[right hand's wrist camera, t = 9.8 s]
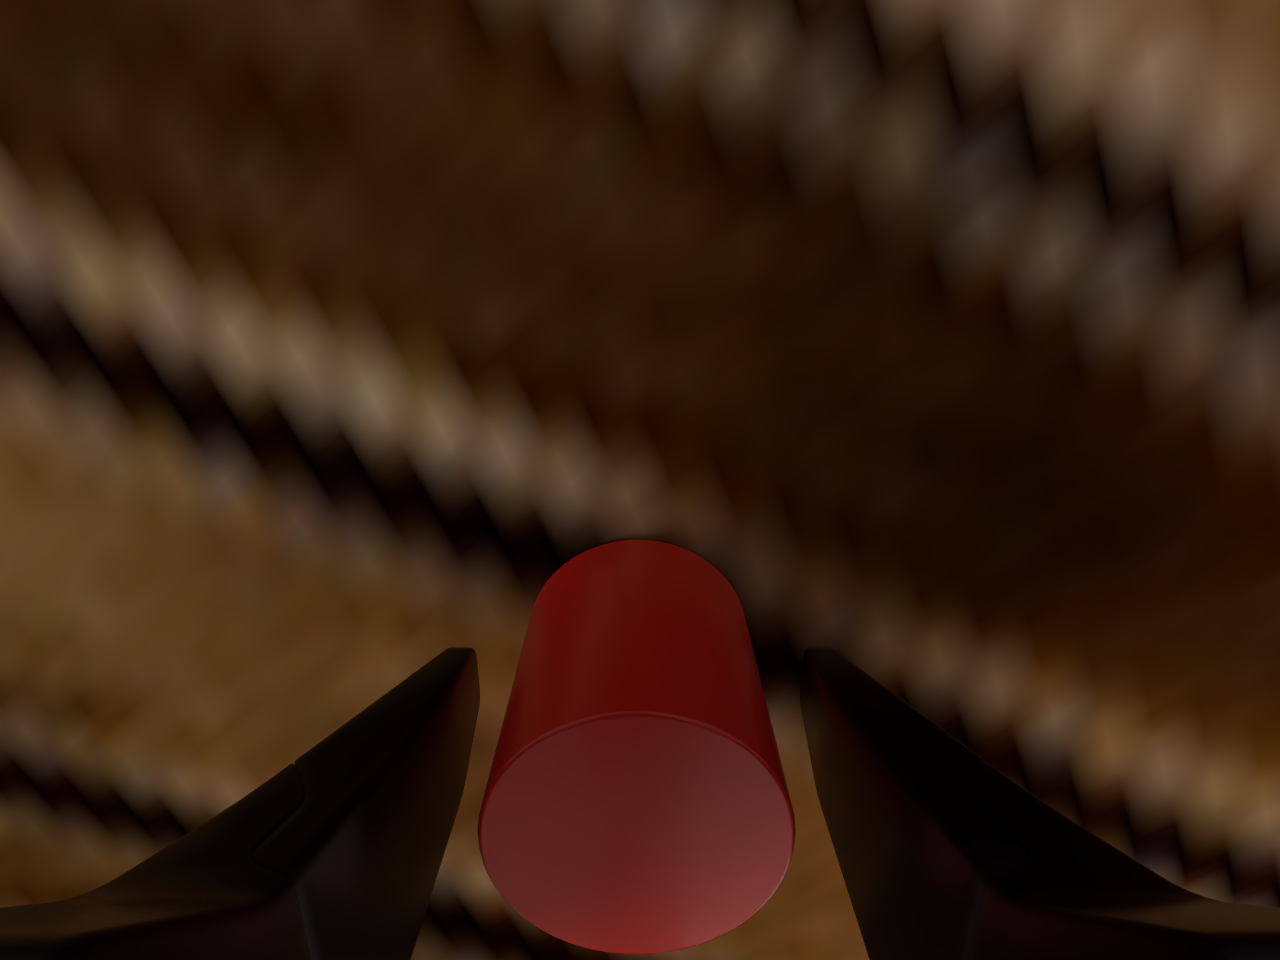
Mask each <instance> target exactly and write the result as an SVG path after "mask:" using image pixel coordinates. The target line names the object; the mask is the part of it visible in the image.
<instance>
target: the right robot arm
mask: <svg viewBox="0 0 1280 960" xmlns="http://www.w3.org/2000/svg"><path fill="white" fill-rule="evenodd" d="M479 703H480V688H479V677H478V666H477V656H476V652H475V650H474V649H473V648H448V649H446V650H445V651H443V652H442V653H441V654H439V655H438V656H436V657H435V658H434V659H432V660H431V661H430V662H428V663H427V664H426V665H424V666H423V667H422V668H420V669H419V670H417V671H416V672H415V673H413V674H412V675H411V676H409V677H408V678H407V679H405V680H404V681H403V682H401V683H400V684H399V685H397V686H396V687H394V688H393V689H392V690H390V691H389V692H388V693H386V694H385V695H384V696H382V697H381V698H380V699H378V700H377V701H375V702H374V703H373V704H371V705H370V706H369V707H367V708H366V709H365V710H363V711H362V712H361V713H359V714H358V715H357V716H355V717H354V718H352V719H351V720H350V721H348V722H347V723H346V724H344V725H343V726H342V727H340V728H339V729H338V730H336V731H335V732H333V733H332V734H331V735H329V736H328V737H327V738H325V739H324V740H323V741H321V742H320V743H319V744H317V745H316V746H315V747H313V748H312V749H310V750H309V751H308V752H306V753H305V754H304V755H302V756H301V757H300V758H298V759H297V760H296V761H295V762H294V764H290V765H289V766H287V767H286V768H284V769H283V770H282V771H280V772H279V773H278V774H276V775H275V776H274V777H272V778H271V779H269V780H268V781H267V782H265V783H264V784H262V785H261V786H260V787H258V788H257V789H255V790H254V791H252V792H251V793H250V794H248V795H247V796H245V797H244V798H243V799H241V800H240V801H238V802H236V803H235V804H233V805H232V806H230V807H229V808H227V809H226V810H224V811H223V812H221V813H220V814H218V815H216V816H215V817H213V818H212V819H210V820H209V821H207V822H206V823H204V824H202V825H201V826H199V827H198V828H196V829H194V830H193V831H191V832H190V833H188V834H186V835H185V836H183V837H182V838H180V839H178V840H177V841H175V842H174V843H172V844H170V845H169V846H167V847H166V848H164V849H162V850H161V851H159V852H158V853H156V854H154V855H153V856H151V857H150V858H148V859H147V860H145V861H143V862H142V863H140V864H139V865H137V866H135V867H134V868H132V869H131V870H129V871H127V872H126V873H124V874H123V875H121V876H119V877H117V878H116V879H114V880H112V881H111V882H109V883H107V884H105V885H103V886H101V887H99V888H97V889H95V890H92V891H90V892H88V893H85V894H82V895H79V896H77V897H74V898H70V899H66V900H62V901H58V902H51V903H43V904H33V905H23V906H14V907H4V908H0V960H410V959H411V956H412V953H413V950H414V947H415V944H416V940H417V937H418V934H419V931H420V928H421V925H422V922H423V918H424V915H425V912H426V909H427V906H428V903H429V899H430V896H431V893H432V890H433V887H434V884H435V881H436V877H437V874H438V871H439V868H440V865H441V862H442V858H443V855H444V852H445V849H446V846H447V843H448V840H449V836H450V833H451V830H452V827H453V824H454V821H455V817H456V814H457V811H458V808H459V804H460V801H461V797H462V794H463V789H464V785H465V780H466V775H467V769H468V764H469V759H470V753H471V748H472V742H473V737H474V732H475V726H476V721H477V716H478V710H479ZM800 703H801V710H802V715H803V721H804V726H805V732H806V737H807V742H808V748H809V753H810V758H811V764H812V769H813V775H814V780H815V784H816V789H817V794H818V797H819V801H820V804H821V808H822V811H823V814H824V817H825V820H826V824H827V827H828V830H829V833H830V836H831V839H832V843H833V846H834V849H835V852H836V855H837V858H838V861H839V865H840V868H841V871H842V874H843V877H844V880H845V884H846V887H847V890H848V893H849V896H850V899H851V902H852V906H853V909H854V912H855V915H856V918H857V921H858V925H859V928H860V931H861V934H862V937H863V940H864V943H865V947H866V950H867V953H868V956H869V959H870V960H1280V908H1276V907H1266V906H1257V905H1247V904H1237V903H1229V902H1222V901H1218V900H1214V899H1210V898H1206V897H1204V896H1201V895H1198V894H1195V893H1192V892H1190V891H1188V890H1185V889H1183V888H1181V887H1179V886H1177V885H1175V884H1173V883H1171V882H1169V881H1168V880H1166V879H1164V878H1163V877H1161V876H1159V875H1158V874H1156V873H1154V872H1153V871H1151V870H1150V869H1148V868H1146V867H1145V866H1143V865H1142V864H1140V863H1138V862H1137V861H1135V860H1134V859H1132V858H1130V857H1129V856H1127V855H1126V854H1124V853H1122V852H1121V851H1119V850H1118V849H1116V848H1114V847H1113V846H1111V845H1110V844H1108V843H1106V842H1105V841H1103V840H1102V839H1100V838H1098V837H1097V836H1095V835H1094V834H1092V833H1090V832H1089V831H1087V830H1086V829H1084V828H1082V827H1081V826H1079V825H1078V824H1076V823H1074V822H1073V821H1071V820H1070V819H1068V818H1067V817H1065V816H1064V815H1062V814H1061V813H1059V812H1057V811H1056V810H1054V809H1053V808H1051V807H1050V806H1048V805H1047V804H1045V803H1044V802H1042V801H1040V800H1039V799H1038V798H1036V797H1035V796H1033V795H1032V794H1030V793H1029V792H1028V791H1026V790H1025V789H1023V788H1022V787H1021V786H1019V785H1018V784H1016V783H1015V782H1013V781H1012V780H1011V779H1009V778H1008V777H1006V776H1005V775H1004V774H1002V773H1001V772H1000V771H998V770H997V769H996V768H994V767H993V766H992V765H990V764H986V762H985V761H984V760H983V759H982V758H980V757H979V756H978V755H976V754H975V753H974V752H972V751H971V750H970V749H968V748H967V747H966V746H964V745H963V744H961V743H960V742H959V741H957V740H956V739H955V738H953V737H952V736H951V735H949V734H948V733H947V732H945V731H944V730H942V729H941V728H940V727H938V726H937V725H936V724H934V723H933V722H932V721H930V720H929V719H928V718H926V717H925V716H924V715H922V714H921V713H919V712H918V711H917V710H915V709H914V708H913V707H911V706H910V705H909V704H907V703H906V702H905V701H903V700H902V699H900V698H899V697H898V696H896V695H895V694H894V693H892V692H891V691H890V690H888V689H887V688H886V687H884V686H883V685H882V684H880V683H879V682H877V681H876V680H875V679H873V678H872V677H871V676H869V675H868V674H867V673H865V672H864V671H863V670H861V669H860V668H858V667H857V666H856V665H854V664H853V663H852V662H850V661H849V660H848V659H846V658H845V657H844V656H842V655H841V654H840V653H838V652H837V651H835V650H834V649H832V648H807V649H806V650H805V652H804V656H803V666H802V677H801V688H800Z"/></svg>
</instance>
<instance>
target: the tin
mask: <svg viewBox="0 0 1280 960" xmlns="http://www.w3.org/2000/svg"><path fill="white" fill-rule="evenodd" d="M478 838H479V848H480V852H481V855H482V859H483V863H484V866H485V868H486V870H487V873H488V875H489V877H490V879H491V881H492V883H493V884H494V886H495V887H496V889H497V890H498V892H499V893H500V895H501V896H502V897H503V898H504V899H505V900H506V902H507V903H508V904H509V905H510V906H511V907H512V908H513V909H514V910H515V911H516V912H518V913H519V914H520V915H521V916H522V917H523V918H525V919H526V920H527V921H529V922H530V923H532V924H533V925H535V926H536V927H538V928H539V929H541V930H543V931H545V932H547V933H549V934H551V935H552V936H554V937H557V938H559V939H562V940H564V941H567V942H569V943H572V944H575V945H578V946H582V947H585V948H589V949H593V950H599V951H604V952H610V953H621V954H653V953H664V952H670V951H675V950H680V949H685V948H689V947H692V946H695V945H699V944H702V943H705V942H707V941H710V940H712V939H715V938H717V937H719V936H721V935H723V934H725V933H727V932H729V931H731V930H733V929H734V928H736V927H738V926H739V925H740V924H742V923H743V922H745V921H746V920H748V919H749V918H750V917H752V916H753V915H754V914H755V913H756V912H757V911H758V910H759V909H761V908H762V907H763V906H764V905H765V903H766V902H767V901H768V900H769V899H770V898H771V897H772V895H773V894H774V893H775V891H776V890H777V888H778V887H779V885H780V883H781V882H782V880H783V878H784V876H785V874H786V871H787V869H788V867H789V864H790V861H791V857H792V853H793V849H794V842H795V819H794V813H793V809H792V805H791V801H790V797H789V793H788V789H787V785H786V781H785V777H784V773H783V769H782V764H781V760H780V756H779V752H778V748H777V744H776V740H775V736H774V732H773V728H772V724H771V720H770V716H769V712H768V708H767V704H766V700H765V696H764V692H763V688H762V684H761V680H760V676H759V672H758V668H757V664H756V660H755V656H754V652H753V648H752V643H751V639H750V635H749V631H748V627H747V623H746V619H745V615H744V611H743V607H742V605H741V603H740V600H739V598H738V596H737V594H736V592H735V591H734V589H733V587H732V586H731V584H730V583H729V582H728V581H727V579H726V578H725V577H724V576H723V574H721V573H720V572H719V571H718V570H717V569H716V568H715V567H714V566H713V565H712V564H710V563H709V562H707V561H706V560H704V559H703V558H702V557H700V556H698V555H696V554H694V553H692V552H690V551H689V550H686V549H683V548H681V547H678V546H676V545H672V544H668V543H664V542H660V541H652V540H624V541H615V542H611V543H607V544H603V545H600V546H597V547H594V548H592V549H589V550H587V551H585V552H583V553H581V554H579V555H577V556H575V557H574V558H572V559H571V560H569V561H568V562H567V563H565V564H564V565H563V566H561V567H560V568H559V569H558V570H557V571H556V572H555V573H554V574H553V575H552V576H551V577H550V579H549V580H548V581H547V582H546V583H545V585H544V586H543V588H542V590H541V591H540V593H539V595H538V597H537V599H536V601H535V604H534V606H533V609H532V613H531V617H530V621H529V624H528V628H527V632H526V636H525V640H524V644H523V648H522V651H521V655H520V659H519V663H518V667H517V671H516V675H515V678H514V682H513V686H512V690H511V694H510V698H509V701H508V705H507V709H506V713H505V717H504V721H503V725H502V728H501V732H500V736H499V740H498V744H497V748H496V752H495V755H494V759H493V763H492V767H491V771H490V775H489V779H488V782H487V786H486V790H485V794H484V798H483V802H482V806H481V810H480V814H479V823H478Z"/></svg>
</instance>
